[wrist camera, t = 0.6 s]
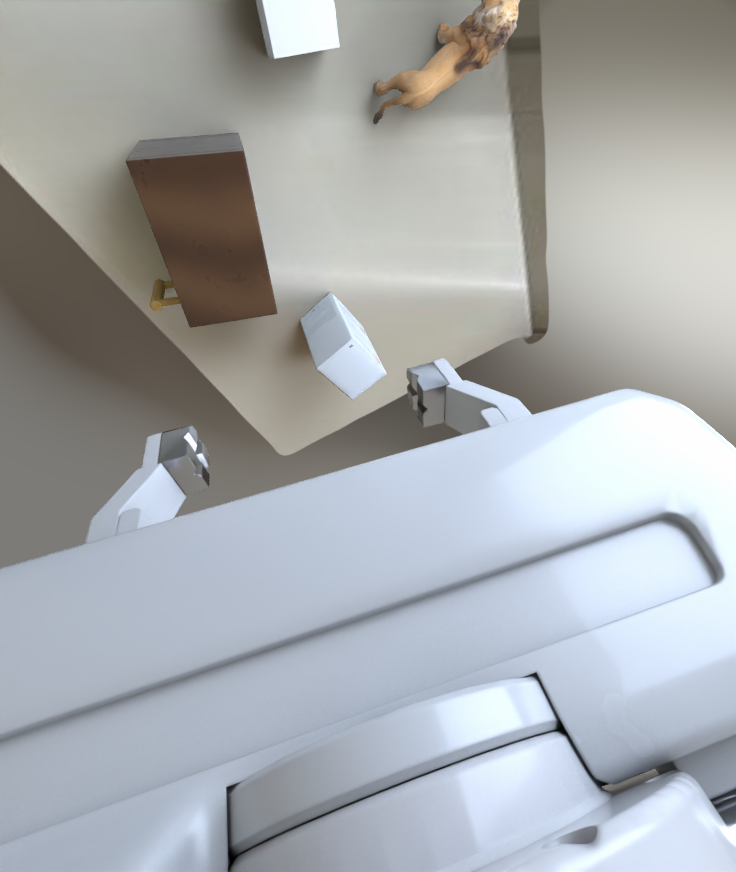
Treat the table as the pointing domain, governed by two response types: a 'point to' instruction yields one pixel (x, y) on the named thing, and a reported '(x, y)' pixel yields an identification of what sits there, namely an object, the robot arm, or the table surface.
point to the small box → (341, 347)
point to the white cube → (297, 26)
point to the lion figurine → (454, 55)
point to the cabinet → (205, 225)
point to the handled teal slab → (162, 295)
